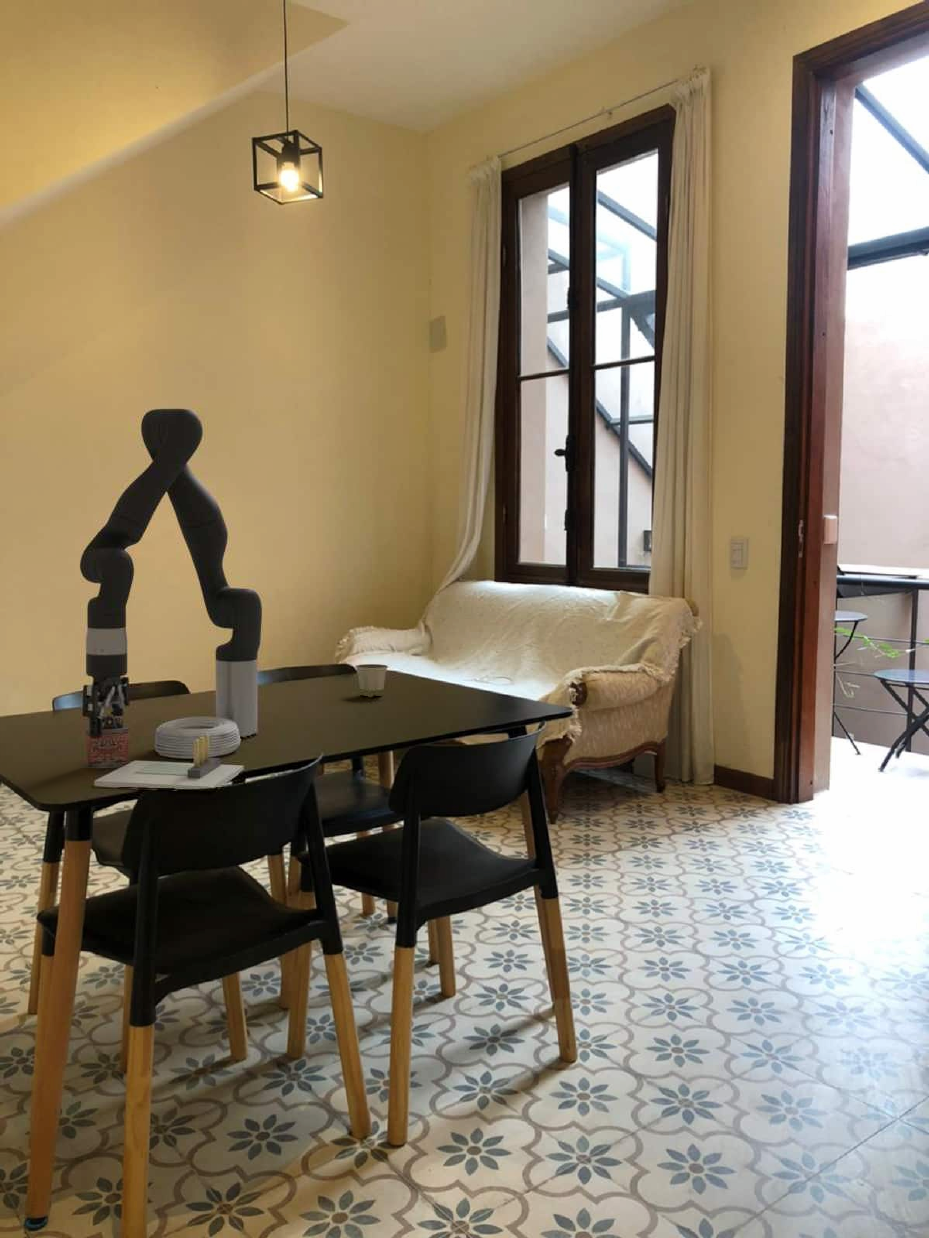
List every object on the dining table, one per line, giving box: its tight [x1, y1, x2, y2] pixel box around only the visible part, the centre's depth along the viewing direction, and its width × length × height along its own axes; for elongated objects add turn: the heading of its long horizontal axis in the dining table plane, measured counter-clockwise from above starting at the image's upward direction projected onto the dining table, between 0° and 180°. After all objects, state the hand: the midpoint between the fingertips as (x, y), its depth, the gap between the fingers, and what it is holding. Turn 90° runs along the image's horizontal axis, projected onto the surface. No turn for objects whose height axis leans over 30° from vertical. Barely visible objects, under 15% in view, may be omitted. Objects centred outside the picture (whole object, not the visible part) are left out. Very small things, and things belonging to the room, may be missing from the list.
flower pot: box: [354, 663, 389, 691], centre depth 276 cm, size 9×9×9 cm
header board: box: [94, 734, 245, 789], centre depth 180 cm, size 16×22×8 cm
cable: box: [154, 716, 241, 760], centre depth 203 cm, size 18×18×6 cm
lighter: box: [85, 713, 131, 769], centre depth 189 cm, size 8×3×10 cm, turn 108°
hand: (106, 733), depth 188 cm, fingers open, 8 cm apart
